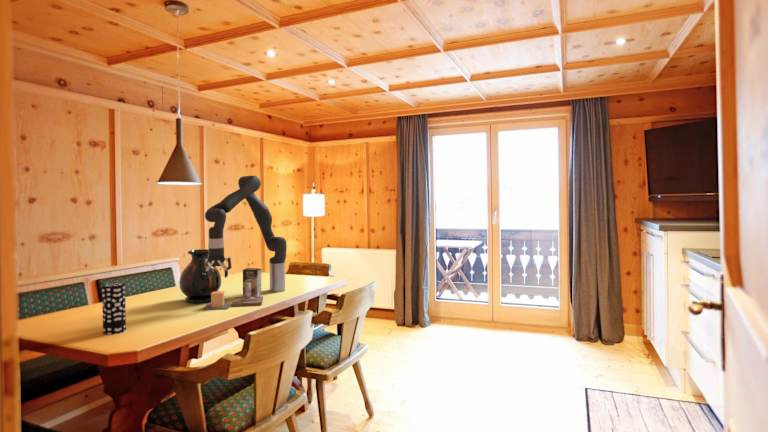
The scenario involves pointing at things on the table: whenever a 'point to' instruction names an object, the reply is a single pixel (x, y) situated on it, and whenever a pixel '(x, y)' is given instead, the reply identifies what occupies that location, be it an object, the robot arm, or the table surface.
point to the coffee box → (252, 281)
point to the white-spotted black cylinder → (113, 308)
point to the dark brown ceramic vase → (199, 278)
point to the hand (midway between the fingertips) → (217, 277)
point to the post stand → (247, 298)
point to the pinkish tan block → (217, 299)
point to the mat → (208, 307)
